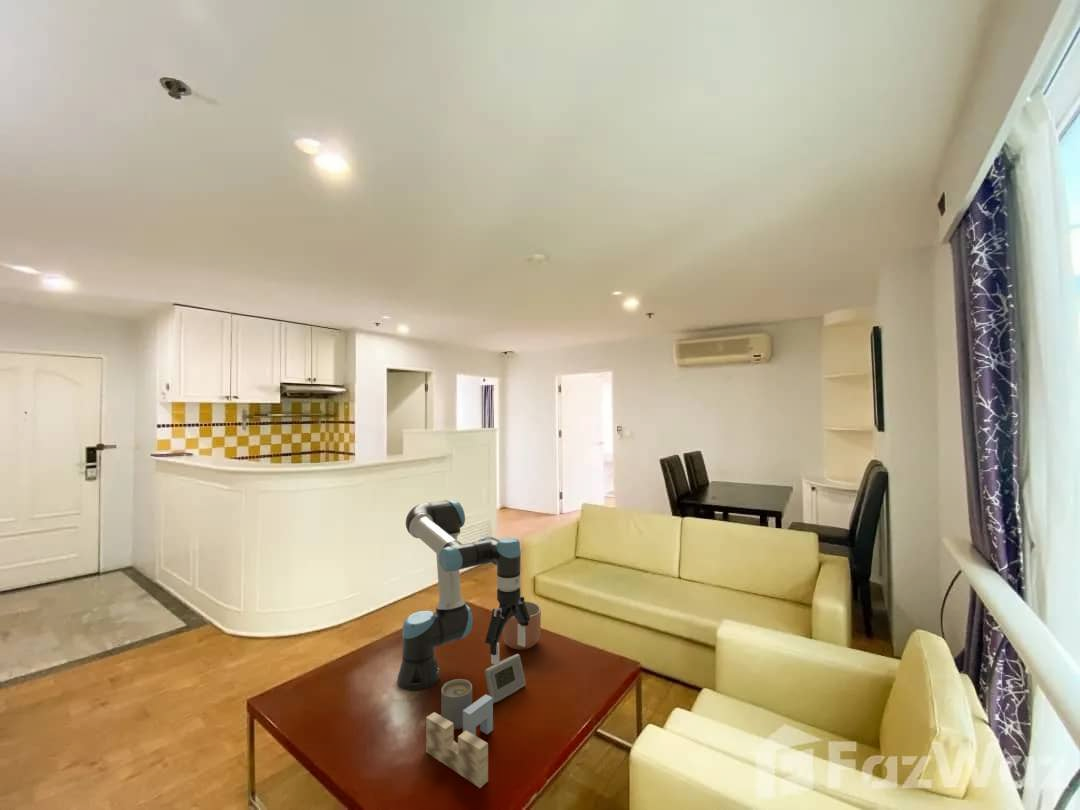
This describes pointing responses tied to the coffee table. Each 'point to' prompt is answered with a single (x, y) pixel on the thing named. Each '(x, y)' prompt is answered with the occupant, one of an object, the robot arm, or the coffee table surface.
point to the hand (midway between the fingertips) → (508, 654)
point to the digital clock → (505, 678)
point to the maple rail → (457, 749)
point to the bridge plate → (479, 715)
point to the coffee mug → (455, 700)
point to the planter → (531, 630)
